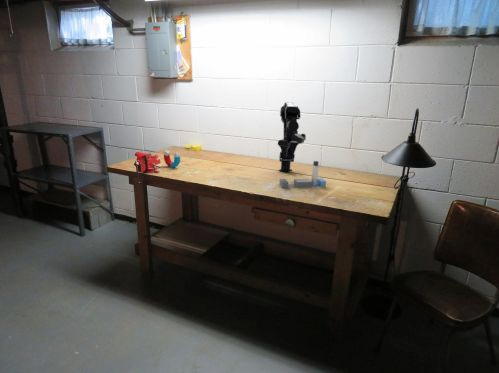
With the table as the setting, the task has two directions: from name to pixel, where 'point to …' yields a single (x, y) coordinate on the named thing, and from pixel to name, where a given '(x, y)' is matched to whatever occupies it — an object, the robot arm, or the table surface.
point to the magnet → (168, 160)
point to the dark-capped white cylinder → (315, 173)
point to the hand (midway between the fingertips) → (289, 155)
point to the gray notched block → (302, 183)
